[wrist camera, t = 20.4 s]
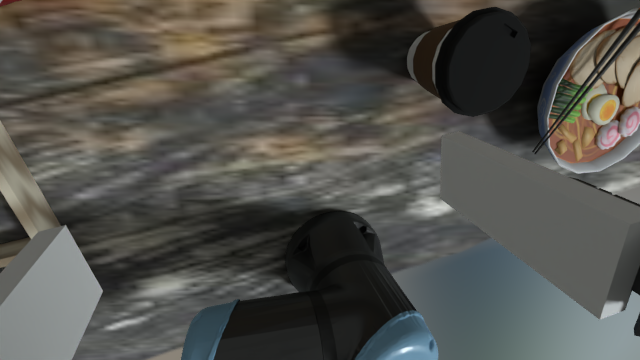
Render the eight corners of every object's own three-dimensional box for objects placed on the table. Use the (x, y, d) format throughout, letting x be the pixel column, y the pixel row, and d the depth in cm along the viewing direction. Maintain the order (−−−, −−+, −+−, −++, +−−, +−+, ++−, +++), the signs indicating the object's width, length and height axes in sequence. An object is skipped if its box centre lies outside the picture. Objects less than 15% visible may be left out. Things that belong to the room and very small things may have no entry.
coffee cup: (414, -4, 41) (481, -16, 31) (476, 35, 45) (554, 36, 35) (375, 81, 44) (424, 97, 34) (437, 110, 48) (498, 132, 38)
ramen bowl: (550, 184, 61) (595, 205, 53) (474, 121, 51) (516, 136, 44) (653, 62, 55) (717, 66, 48) (590, -34, 46) (659, -46, 39)
